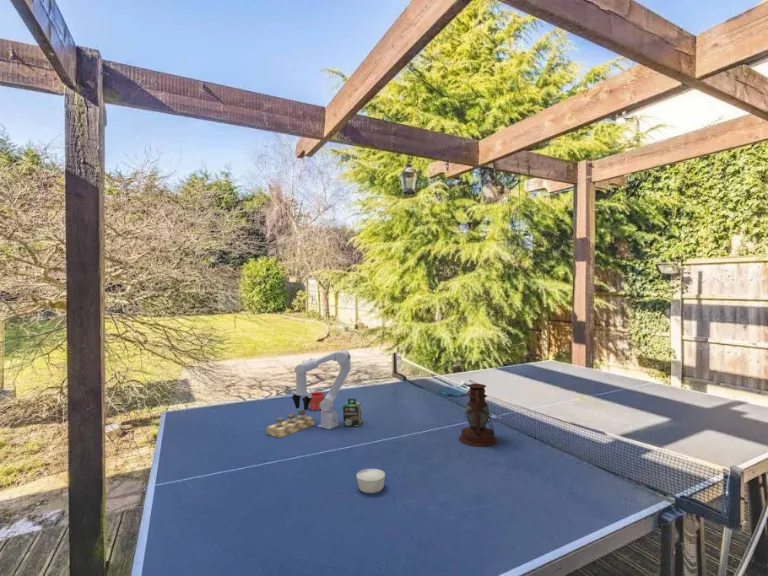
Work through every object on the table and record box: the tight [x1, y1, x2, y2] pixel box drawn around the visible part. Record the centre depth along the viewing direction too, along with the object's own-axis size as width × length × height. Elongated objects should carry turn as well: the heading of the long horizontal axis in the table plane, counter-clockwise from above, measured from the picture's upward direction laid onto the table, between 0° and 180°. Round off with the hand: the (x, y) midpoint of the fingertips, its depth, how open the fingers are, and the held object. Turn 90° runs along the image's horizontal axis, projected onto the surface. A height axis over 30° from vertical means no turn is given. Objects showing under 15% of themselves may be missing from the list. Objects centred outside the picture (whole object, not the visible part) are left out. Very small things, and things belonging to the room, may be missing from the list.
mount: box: [266, 414, 316, 439], centre depth 236 cm, size 26×10×4 cm, turn 145°
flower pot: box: [308, 391, 325, 411], centre depth 276 cm, size 11×11×10 cm
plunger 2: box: [286, 412, 296, 423], centre depth 236 cm, size 4×4×5 cm
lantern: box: [458, 379, 498, 448], centre depth 215 cm, size 19×19×30 cm
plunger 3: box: [297, 409, 307, 419], centre depth 243 cm, size 4×4×5 cm
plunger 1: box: [275, 416, 285, 427], centre depth 230 cm, size 4×4×5 cm
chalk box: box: [342, 398, 363, 427], centre depth 244 cm, size 9×9×15 cm
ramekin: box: [356, 468, 386, 494], centre depth 165 cm, size 11×11×5 cm
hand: (301, 408), depth 243 cm, fingers open, 6 cm apart
